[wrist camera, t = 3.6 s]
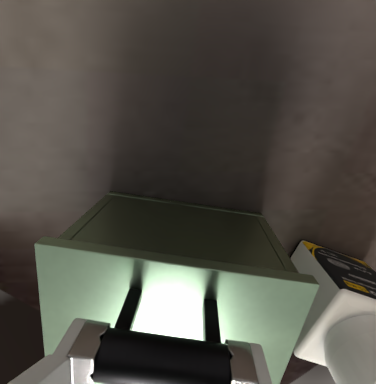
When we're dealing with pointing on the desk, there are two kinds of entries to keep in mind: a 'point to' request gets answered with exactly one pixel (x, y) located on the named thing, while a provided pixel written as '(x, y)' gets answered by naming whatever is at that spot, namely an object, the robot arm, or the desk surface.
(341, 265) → the medicine bottle
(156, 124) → the desk surface
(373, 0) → the desk surface
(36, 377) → the robot arm
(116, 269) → the lid
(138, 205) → the green open box
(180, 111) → the desk surface
